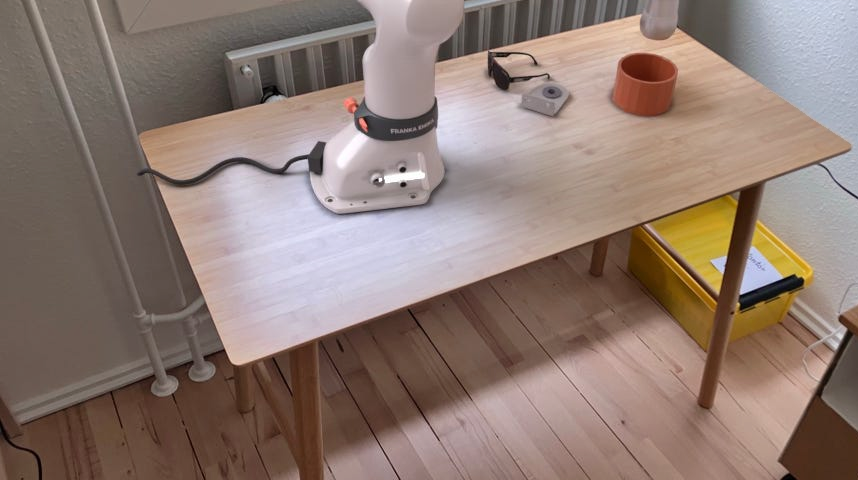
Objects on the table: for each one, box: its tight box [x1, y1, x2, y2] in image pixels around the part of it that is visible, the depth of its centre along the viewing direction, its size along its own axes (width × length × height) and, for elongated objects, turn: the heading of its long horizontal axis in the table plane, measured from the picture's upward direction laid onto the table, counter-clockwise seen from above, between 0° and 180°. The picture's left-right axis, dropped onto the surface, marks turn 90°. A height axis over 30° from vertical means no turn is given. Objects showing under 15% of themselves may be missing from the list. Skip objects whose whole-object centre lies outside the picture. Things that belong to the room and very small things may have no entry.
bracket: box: [521, 82, 570, 117], centre depth 159 cm, size 7×10×4 cm, turn 153°
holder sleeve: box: [612, 52, 679, 117], centre depth 159 cm, size 11×11×7 cm
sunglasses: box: [487, 50, 551, 91], centre depth 165 cm, size 10×12×5 cm
